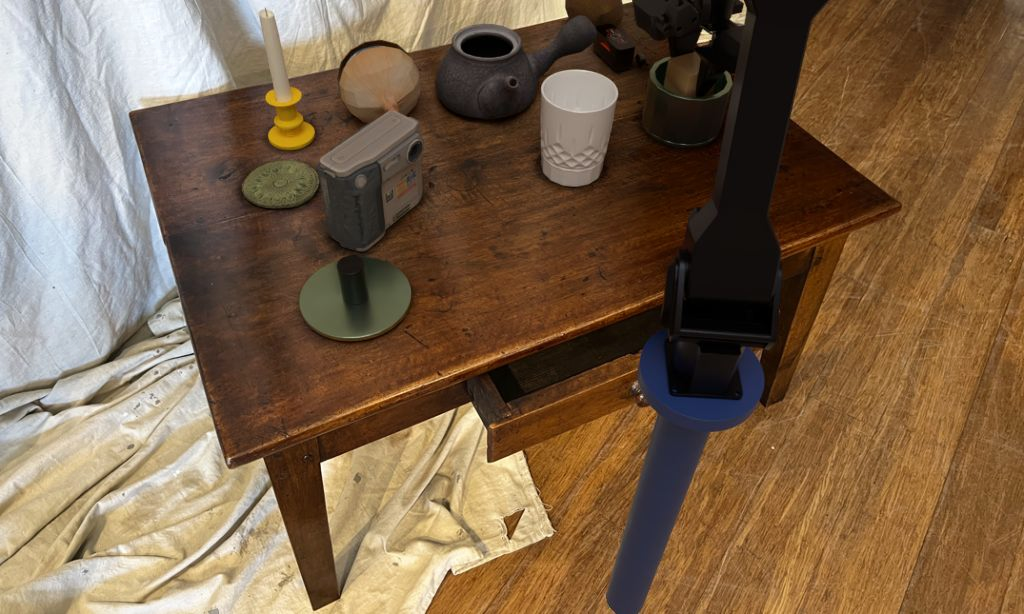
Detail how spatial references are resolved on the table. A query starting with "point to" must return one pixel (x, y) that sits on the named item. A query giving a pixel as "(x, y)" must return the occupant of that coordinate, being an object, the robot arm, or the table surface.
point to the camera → (371, 180)
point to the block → (684, 75)
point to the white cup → (576, 125)
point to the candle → (283, 93)
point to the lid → (355, 298)
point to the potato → (596, 11)
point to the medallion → (281, 184)
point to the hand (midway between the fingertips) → (688, 86)
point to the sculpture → (378, 80)
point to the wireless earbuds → (616, 48)
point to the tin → (683, 111)
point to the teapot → (501, 67)
